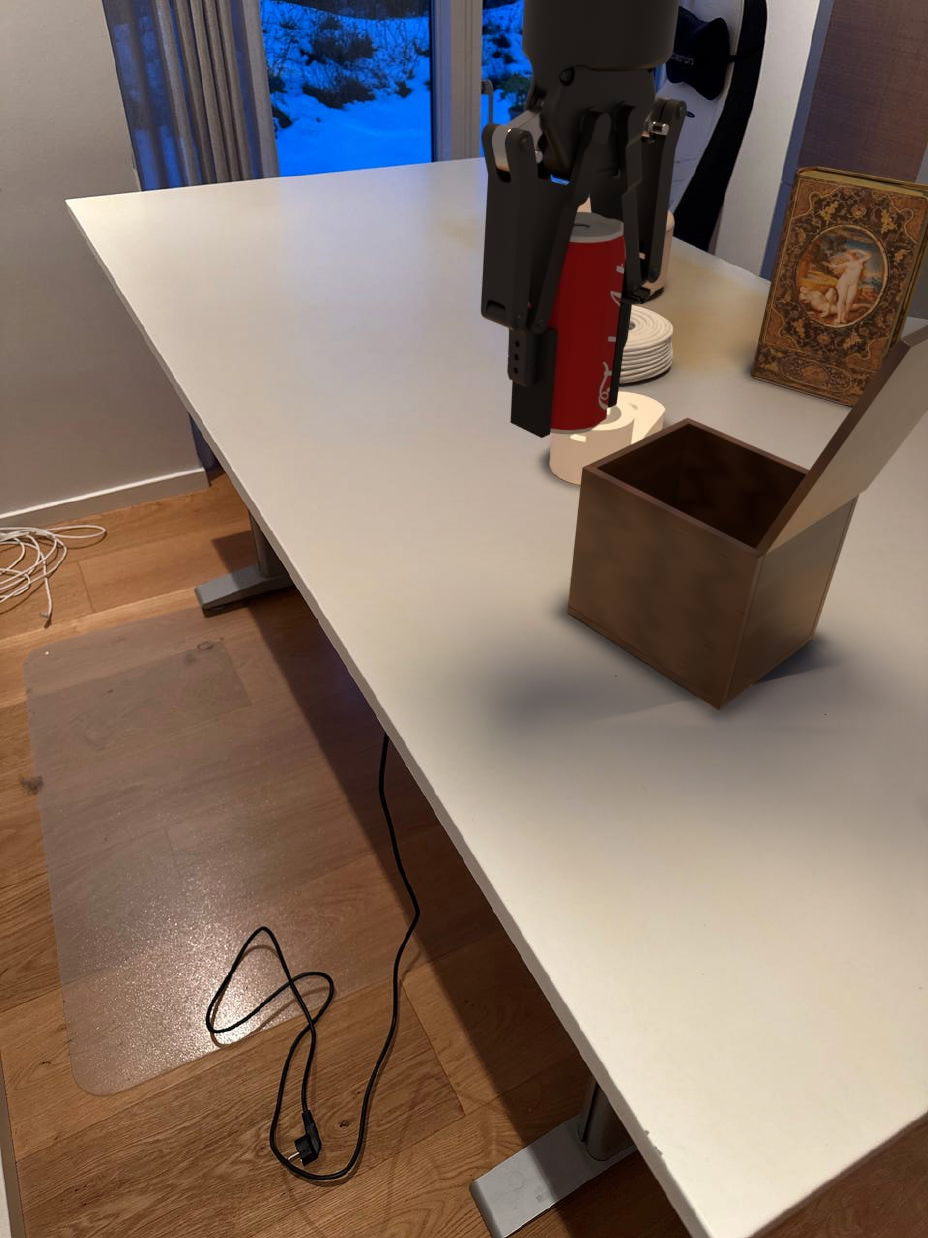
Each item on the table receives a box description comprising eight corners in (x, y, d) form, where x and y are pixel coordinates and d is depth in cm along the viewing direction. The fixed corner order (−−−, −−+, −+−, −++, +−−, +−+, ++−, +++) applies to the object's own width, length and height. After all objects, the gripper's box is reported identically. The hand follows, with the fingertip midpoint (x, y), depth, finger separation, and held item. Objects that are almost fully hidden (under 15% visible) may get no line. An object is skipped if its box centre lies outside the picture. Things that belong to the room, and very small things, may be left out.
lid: (899, 338, 50) (911, 346, 50) (1008, 283, 58) (1019, 291, 57) (755, 548, 64) (764, 556, 64) (858, 483, 71) (866, 489, 71)
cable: (524, 343, 131) (526, 300, 127) (635, 329, 135) (640, 288, 131) (573, 394, 118) (577, 349, 114) (694, 378, 122) (702, 333, 119)
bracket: (610, 493, 99) (617, 437, 95) (536, 473, 102) (540, 418, 98) (669, 419, 113) (678, 367, 109) (602, 403, 116) (608, 352, 112)
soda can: (611, 438, 56) (637, 234, 49) (522, 436, 56) (534, 232, 49) (601, 398, 61) (624, 205, 53) (519, 397, 61) (529, 204, 53)
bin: (566, 612, 83) (581, 467, 74) (662, 556, 90) (687, 417, 81) (719, 710, 73) (758, 557, 64) (813, 638, 80) (860, 491, 71)
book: (745, 375, 123) (788, 172, 108) (763, 362, 127) (807, 164, 111) (866, 411, 115) (932, 198, 100) (882, 397, 118) (948, 188, 103)
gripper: (663, -46, 51) (614, 356, 66) (403, -32, 41) (414, 437, 56) (780, -37, 47) (701, 391, 61) (522, -19, 37) (500, 485, 51)
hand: (564, 412), depth 58 cm, fingers closed on soda can, 5 cm apart
